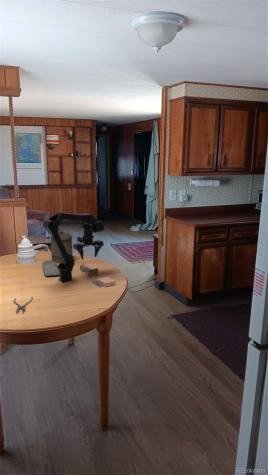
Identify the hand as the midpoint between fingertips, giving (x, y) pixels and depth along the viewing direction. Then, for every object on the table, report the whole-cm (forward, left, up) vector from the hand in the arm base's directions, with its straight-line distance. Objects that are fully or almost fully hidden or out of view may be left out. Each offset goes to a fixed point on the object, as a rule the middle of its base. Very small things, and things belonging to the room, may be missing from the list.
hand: (89, 258), depth 217 cm
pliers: (-49, -22, -11) cm, 54 cm away
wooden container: (-1, +38, -11) cm, 40 cm away
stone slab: (-16, +22, -11) cm, 30 cm away
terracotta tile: (0, -16, -9) cm, 19 cm away
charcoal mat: (-1, -19, -11) cm, 21 cm away
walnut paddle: (0, +2, -11) cm, 11 cm away
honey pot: (-23, +49, -11) cm, 56 cm away
